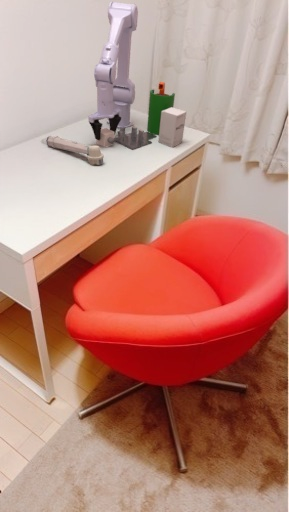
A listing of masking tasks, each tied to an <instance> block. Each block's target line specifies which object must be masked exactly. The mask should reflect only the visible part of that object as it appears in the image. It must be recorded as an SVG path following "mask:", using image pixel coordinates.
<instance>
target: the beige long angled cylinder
mask: <svg viewBox="0 0 289 512" xmlns="http://www.w3.org/2000/svg"><path fill="white" fill-rule="evenodd" d="M45 142H46V145H47V146H48V147H50V148H54V149H55V150H56V149H59V150H64V151H69V152H74V153H79V154H84V155H86V159H87V160H88V163H89V165H92V166H95V165H96V166H100V165H102V164H104V157H105V156H104V154H103V153H102V151H101V147H100V145H88V144H83V143H81V142H77V141H73V140H69V139H66V138H63V137H59V136H58V135H56V136H53V135H48V136H47V138H46V140H45Z"/></svg>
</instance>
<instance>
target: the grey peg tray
mask: <svg viewBox="0 0 289 512" xmlns="http://www.w3.org/2000/svg"><path fill="white" fill-rule="evenodd" d="M116 131H117V134H116V137H114V139H115V141H114V143H117V144H118V145H121V146H123V147H125V148H127V149H129V150H132V151H134V150H137V149H139V148H142V147H145V146H148V145H151V144H152V143H153V141H151V140H153V139H156V138H157V137H158V135H156V134H152V133H150V132H148V131H145V130H144V129H138V127H136V126H134V125H132V126H131V132H129V133H126V128H125V127H124V126H122V127H120V128H119V130H116Z"/></svg>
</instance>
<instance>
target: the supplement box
mask: <svg viewBox="0 0 289 512" xmlns="http://www.w3.org/2000/svg"><path fill="white" fill-rule="evenodd" d="M186 117H187V111H186V110H182V109H179V108H175V107H174V106H173V107H171V108H168V109H166V110H163V111H162V112H161V121H160V130H159V135H158V140H157V141H158V143H159V144H163V145H164V146H168V147H169V148H174V147H175V146H177V145H179V144H182V143H183V138H184V131H185V126H186V125H185V124H186V119H187V118H186Z"/></svg>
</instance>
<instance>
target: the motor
mask: <svg viewBox="0 0 289 512" xmlns="http://www.w3.org/2000/svg"><path fill="white" fill-rule="evenodd" d="M165 87H166V83H165V82H161V81H160V82H159V83H158V90H159V92H158V93H155V89H150V91H149V100H148V112H147V124H146V125H147V127H146V130H147V132H149V133H151V134H153V135H156V136H159V130H160V121H161V112H162V111H163V110H166V109H168V108H171V107H173V108H174V104H175V96H176V93H175V92H173V93H172V94H166V93H165Z"/></svg>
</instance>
